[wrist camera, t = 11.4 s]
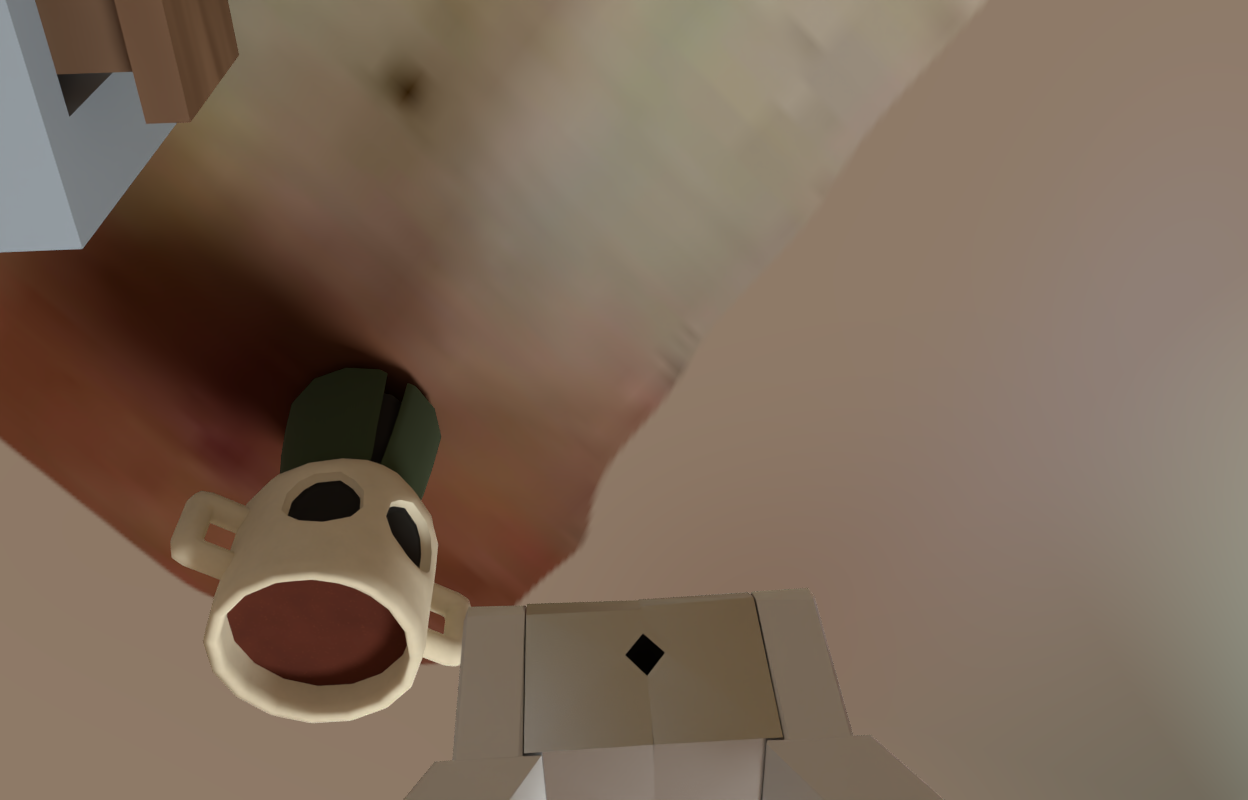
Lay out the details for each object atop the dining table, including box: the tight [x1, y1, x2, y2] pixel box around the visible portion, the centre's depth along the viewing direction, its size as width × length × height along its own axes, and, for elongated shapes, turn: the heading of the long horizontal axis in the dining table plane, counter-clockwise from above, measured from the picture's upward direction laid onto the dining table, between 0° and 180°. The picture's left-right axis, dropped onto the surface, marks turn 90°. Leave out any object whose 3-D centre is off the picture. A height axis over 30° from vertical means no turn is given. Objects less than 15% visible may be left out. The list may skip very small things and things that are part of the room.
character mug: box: [171, 368, 471, 723], centre depth 43 cm, size 11×7×13 cm, turn 57°
